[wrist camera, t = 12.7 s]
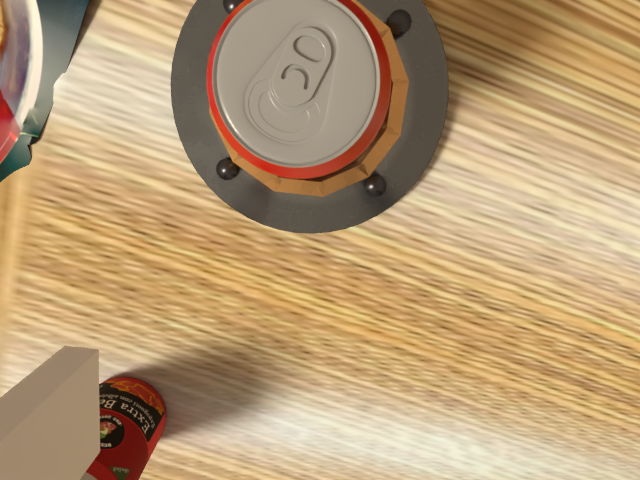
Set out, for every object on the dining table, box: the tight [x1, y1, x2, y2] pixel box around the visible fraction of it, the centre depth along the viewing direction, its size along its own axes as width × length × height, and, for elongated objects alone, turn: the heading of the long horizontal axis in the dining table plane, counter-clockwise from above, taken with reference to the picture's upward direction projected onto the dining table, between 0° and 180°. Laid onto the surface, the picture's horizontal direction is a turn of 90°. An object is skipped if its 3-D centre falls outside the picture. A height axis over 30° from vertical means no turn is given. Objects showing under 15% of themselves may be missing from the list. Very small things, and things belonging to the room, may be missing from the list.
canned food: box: [80, 377, 166, 480], centre depth 34 cm, size 8×8×11 cm
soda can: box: [206, 0, 391, 179], centre depth 23 cm, size 8×8×15 cm
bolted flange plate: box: [171, 0, 448, 233], centre depth 30 cm, size 20×20×4 cm
